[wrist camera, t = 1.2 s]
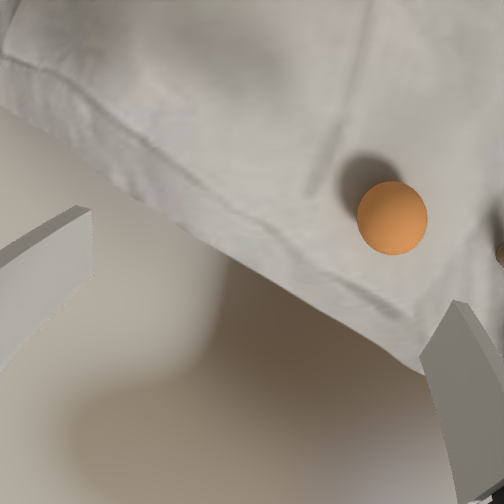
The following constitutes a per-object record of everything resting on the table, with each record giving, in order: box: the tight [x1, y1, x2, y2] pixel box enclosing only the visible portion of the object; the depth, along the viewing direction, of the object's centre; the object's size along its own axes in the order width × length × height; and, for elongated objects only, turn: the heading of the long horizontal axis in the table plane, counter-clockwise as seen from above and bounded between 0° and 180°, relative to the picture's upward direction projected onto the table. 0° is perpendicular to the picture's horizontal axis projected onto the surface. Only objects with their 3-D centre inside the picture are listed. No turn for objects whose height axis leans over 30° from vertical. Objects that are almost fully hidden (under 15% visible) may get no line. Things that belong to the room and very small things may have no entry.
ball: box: [357, 181, 427, 255], centre depth 24 cm, size 6×6×6 cm
